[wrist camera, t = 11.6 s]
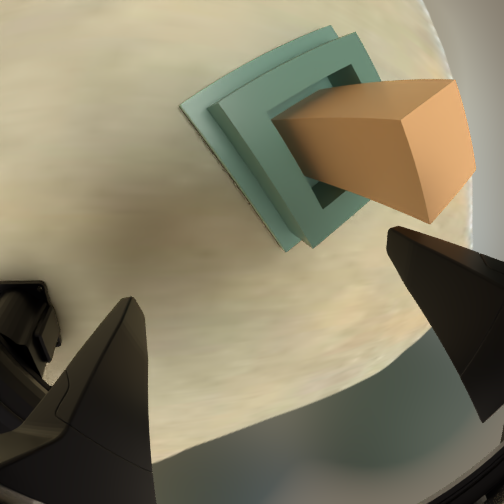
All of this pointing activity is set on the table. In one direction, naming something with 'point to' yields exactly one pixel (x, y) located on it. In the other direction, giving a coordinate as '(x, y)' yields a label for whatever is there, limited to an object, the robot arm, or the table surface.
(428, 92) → the plug
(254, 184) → the socket housing
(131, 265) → the table surface
